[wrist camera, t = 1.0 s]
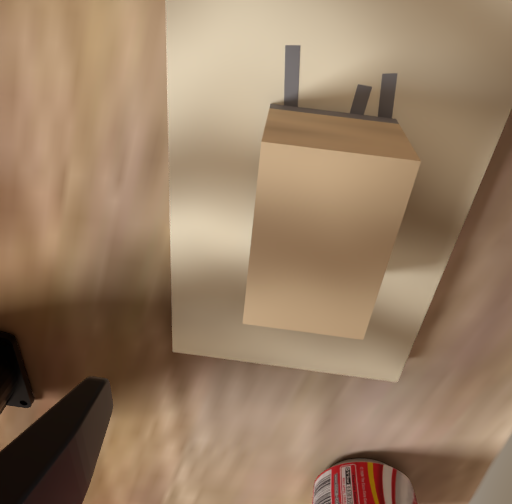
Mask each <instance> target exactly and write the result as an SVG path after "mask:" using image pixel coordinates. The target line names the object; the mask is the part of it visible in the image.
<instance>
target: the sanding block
mask: <svg viewBox="0 0 512 504" xmlns="http://www.w3.org/2000/svg"><path fill="white" fill-rule="evenodd" d="M420 163H421V160H420V159H419V157H418V155H417V153H416V152H415V150H414V148H413V147H412V145H411V143H410V142H409V140H408V138H407V136H406V135H405V133H404V131H403V130H402V128H401V126H400V125H399V123H398V121H397V120H396V119H393V118H385V117H377V116H368V115H360V114H352V113H344V112H335V111H327V110H319V109H311V108H302V107H294V106H286V105H278V104H270V108H269V112H268V116H267V120H266V124H265V128H264V132H263V137H262V141H261V149H260V159H259V169H258V178H257V188H256V198H255V207H254V217H253V227H252V236H251V246H250V256H249V265H248V275H247V285H246V294H245V304H244V314H243V323H242V324H248V325H256V326H263V327H271V328H278V329H286V330H293V331H301V332H308V333H316V334H323V335H330V336H338V337H345V338H353V339H360V340H363V339H364V336H365V333H366V330H367V327H368V324H369V321H370V318H371V315H372V312H373V308H374V305H375V302H376V299H377V296H378V293H379V290H380V287H381V284H382V281H383V278H384V274H385V271H386V268H387V265H388V262H389V259H390V256H391V253H392V250H393V247H394V244H395V241H396V237H397V234H398V231H399V228H400V225H401V222H402V219H403V216H404V213H405V210H406V207H407V204H408V200H409V197H410V194H411V191H412V188H413V185H414V182H415V179H416V176H417V173H418V170H419V167H420Z"/></svg>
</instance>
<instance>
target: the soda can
mask: <svg viewBox="0 0 512 504" xmlns="http://www.w3.org/2000/svg"><path fill="white" fill-rule="evenodd" d="M312 504H418V503H417V500H416V496H415V493H414V490H413V487H412V484H411V482H410V480H409V479H408V477H407V476H405V475H404V474H403V473H402V472H400V471H399V470H397V469H395V468H393V467H390V466H388V465H387V464H385V463H383V462H380V461H377V460H373V459H364V458H357V459H348V460H344V461H341V462H339V463H337V464H335V465H333V466H332V467H331V468H328V469H327V470H325V471H324V472H322V473H321V474H320V475H319V476H318V477H317V479H316V480H315V483H314V490H313V502H312Z"/></svg>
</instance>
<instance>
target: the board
mask: <svg viewBox="0 0 512 504" xmlns="http://www.w3.org/2000/svg"><path fill="white" fill-rule="evenodd" d="M165 4H166V53H167V103H168V152H169V202H170V251H171V300H172V350H173V352H177V353H184V354H191V355H199V356H206V357H213V358H221V359H228V360H235V361H243V362H250V363H257V364H265V365H272V366H279V367H287V368H294V369H301V370H309V371H316V372H323V373H331V374H338V375H345V376H353V377H360V378H367V379H375V380H382V381H389V382H398V380H399V377H400V375H401V372H402V370H403V368H404V365H405V363H406V360H407V358H408V356H409V353H410V351H411V349H412V346H413V344H414V341H415V339H416V337H417V334H418V332H419V329H420V327H421V325H422V322H423V320H424V317H425V315H426V313H427V310H428V308H429V305H430V303H431V301H432V298H433V296H434V293H435V291H436V289H437V286H438V284H439V281H440V279H441V277H442V274H443V272H444V269H445V267H446V265H447V262H448V260H449V258H450V255H451V253H452V250H453V248H454V246H455V243H456V241H457V238H458V236H459V234H460V231H461V229H462V226H463V224H464V222H465V219H466V217H467V214H468V212H469V210H470V207H471V205H472V202H473V200H474V198H475V195H476V193H477V190H478V188H479V186H480V183H481V181H482V178H483V176H484V174H485V171H486V169H487V167H488V164H489V162H490V159H491V157H492V155H493V152H494V150H495V147H496V145H497V143H498V140H499V138H500V135H501V133H502V131H503V128H504V126H505V123H506V121H507V119H508V116H509V114H510V111H511V109H512V0H165ZM270 104H278V105H286V106H294V107H302V108H311V109H319V110H327V111H335V112H344V113H352V114H360V115H368V116H377V117H385V118H393V119H396V120H397V121H398V123H399V125H400V126H401V128H402V130H403V131H404V133H405V135H406V136H407V138H408V140H409V142H410V143H411V145H412V147H413V148H414V150H415V152H416V153H417V155H418V157H419V159H420V160H421V163H420V167H419V170H418V173H417V176H416V179H415V182H414V185H413V188H412V191H411V194H410V197H409V200H408V204H407V207H406V210H405V213H404V216H403V219H402V222H401V225H400V228H399V231H398V234H397V237H396V241H395V244H394V247H393V250H392V253H391V256H390V259H389V262H388V265H387V268H386V271H385V274H384V278H383V281H382V284H381V287H380V290H379V293H378V296H377V299H376V302H375V305H374V308H373V312H372V315H371V318H370V321H369V324H368V327H367V330H366V333H365V336H364V339H363V340H360V339H353V338H345V337H338V336H330V335H323V334H316V333H308V332H301V331H293V330H286V329H278V328H271V327H263V326H256V325H248V324H242V323H243V314H244V304H245V294H246V285H247V275H248V265H249V256H250V246H251V236H252V227H253V217H254V207H255V198H256V188H257V178H258V169H259V159H260V149H261V141H262V137H263V132H264V128H265V124H266V120H267V116H268V112H269V108H270Z"/></svg>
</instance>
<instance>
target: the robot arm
mask: <svg viewBox="0 0 512 504" xmlns="http://www.w3.org/2000/svg"><path fill="white" fill-rule="evenodd" d="M33 402H34V397H33V393H32V390H31V387H30V383H29V380H28V377H27V374H26V370H25V367H24V364H23V360H22V357H21V354H20V350H19V347H18V344H17V340H16V338H15V337H14V336H13V335H11V334H9V333H4V332H0V414H1V413H2V411H3V410H4V408H5V407H6V405H9V406H16V407H23V408H29V407H30V406H31V405H32V403H33ZM112 409H113V401H112V394H111V387H110V382H109V380H108V379H106V378H101V377H93V376H91V377H87V378H86V379H84V380H83V381H82V382H81V383H80V384H79V385H77V386H76V387H75V388H74V389H73V390H72V391H70V392H69V393H68V394H67V395H66V396H65V397H63V398H62V399H61V400H60V401H59V402H58V403H56V404H55V405H54V406H53V407H52V408H51V409H49V410H48V411H47V412H46V413H45V414H44V415H42V416H41V417H40V418H39V419H38V420H37V421H35V422H34V423H33V424H32V425H31V426H30V427H28V428H27V429H26V430H25V431H24V432H23V433H21V434H20V435H19V436H18V437H17V438H16V439H14V440H13V441H12V442H11V443H10V444H9V445H7V446H6V447H5V448H4V449H3V450H2V451H0V504H82V503H83V500H84V498H85V495H86V493H87V490H88V487H89V484H90V481H91V478H92V475H93V472H94V469H95V466H96V462H97V459H98V456H99V453H100V450H101V446H102V443H103V440H104V437H105V434H106V430H107V427H108V424H109V421H110V417H111V414H112Z"/></svg>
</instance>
